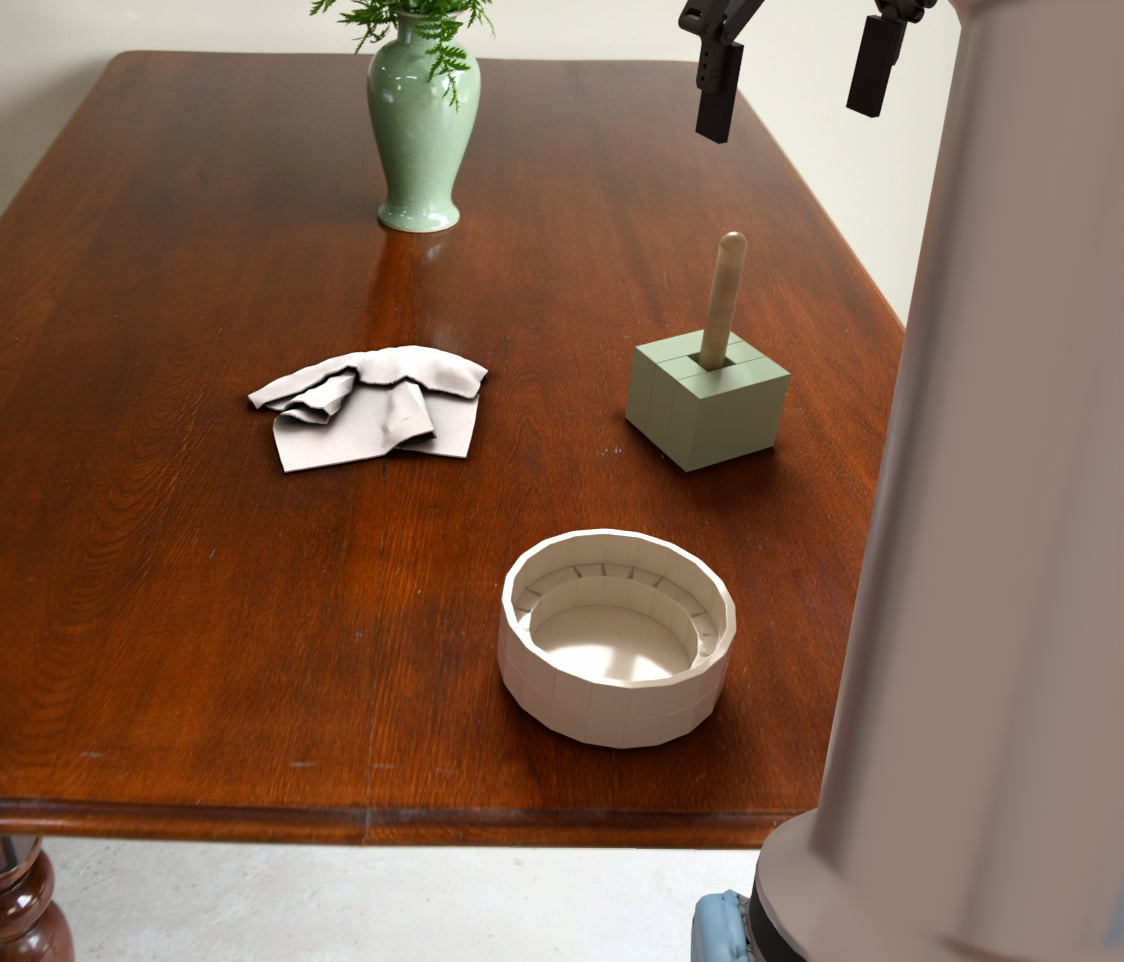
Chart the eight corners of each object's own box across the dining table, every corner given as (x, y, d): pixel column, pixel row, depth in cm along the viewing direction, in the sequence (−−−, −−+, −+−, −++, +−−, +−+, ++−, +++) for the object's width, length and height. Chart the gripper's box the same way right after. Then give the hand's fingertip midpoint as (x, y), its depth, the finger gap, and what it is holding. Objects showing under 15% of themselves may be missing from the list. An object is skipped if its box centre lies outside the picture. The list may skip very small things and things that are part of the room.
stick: (714, 434, 95) (755, 235, 84) (695, 440, 94) (733, 240, 83) (700, 422, 96) (738, 225, 85) (680, 428, 95) (716, 229, 85)
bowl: (766, 710, 70) (785, 641, 67) (571, 788, 66) (581, 719, 62) (636, 573, 81) (647, 507, 77) (460, 631, 76) (462, 564, 72)
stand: (773, 446, 93) (791, 373, 89) (686, 472, 90) (700, 399, 86) (708, 394, 100) (721, 324, 96) (624, 417, 97) (634, 346, 93)
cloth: (509, 364, 104) (511, 341, 102) (444, 504, 87) (445, 478, 86) (303, 331, 109) (301, 309, 107) (203, 457, 92) (200, 432, 91)
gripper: (965, -233, 75) (884, 88, 88) (652, -221, 67) (612, 131, 80) (1059, -225, 70) (958, 117, 82) (731, -211, 62) (675, 167, 74)
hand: (788, 124), depth 81 cm, fingers open, 13 cm apart
